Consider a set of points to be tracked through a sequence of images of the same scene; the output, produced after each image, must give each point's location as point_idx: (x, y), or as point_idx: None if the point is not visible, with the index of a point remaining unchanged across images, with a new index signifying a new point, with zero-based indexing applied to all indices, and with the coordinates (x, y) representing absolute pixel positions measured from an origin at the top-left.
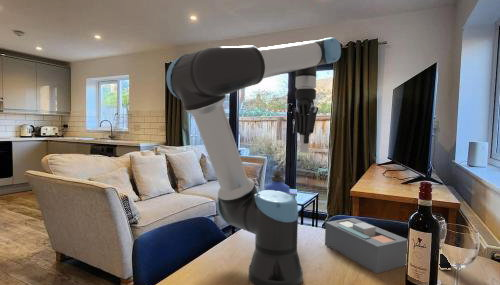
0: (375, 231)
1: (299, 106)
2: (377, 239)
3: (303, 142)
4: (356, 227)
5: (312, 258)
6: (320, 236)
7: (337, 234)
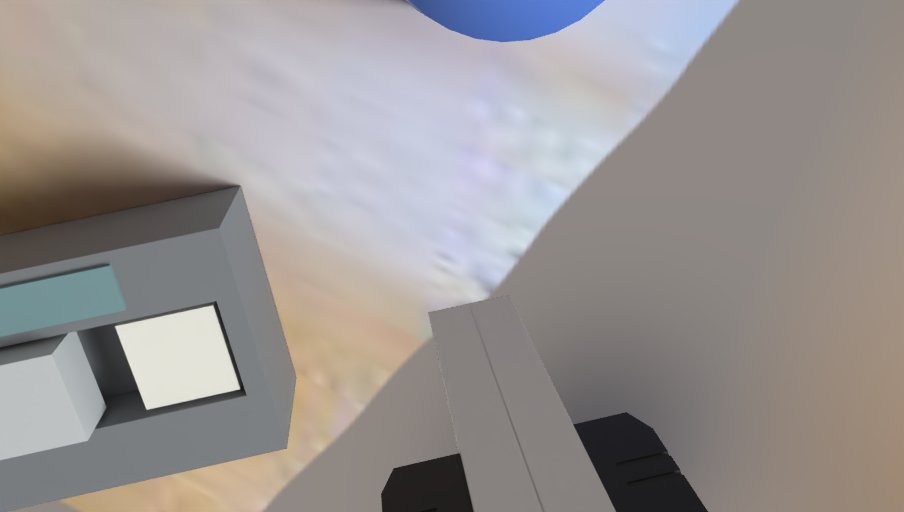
0: None
1: None
2: None
3: (460, 452)
4: (22, 356)
5: (41, 14)
6: (362, 213)
7: (105, 239)
